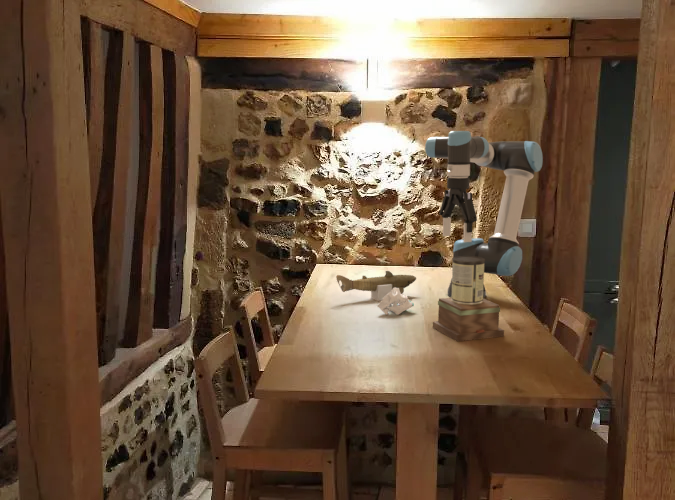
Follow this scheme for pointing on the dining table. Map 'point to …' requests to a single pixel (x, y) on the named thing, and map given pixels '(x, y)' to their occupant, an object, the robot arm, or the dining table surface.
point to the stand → (468, 320)
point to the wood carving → (377, 284)
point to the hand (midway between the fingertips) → (456, 238)
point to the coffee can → (467, 280)
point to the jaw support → (395, 302)
